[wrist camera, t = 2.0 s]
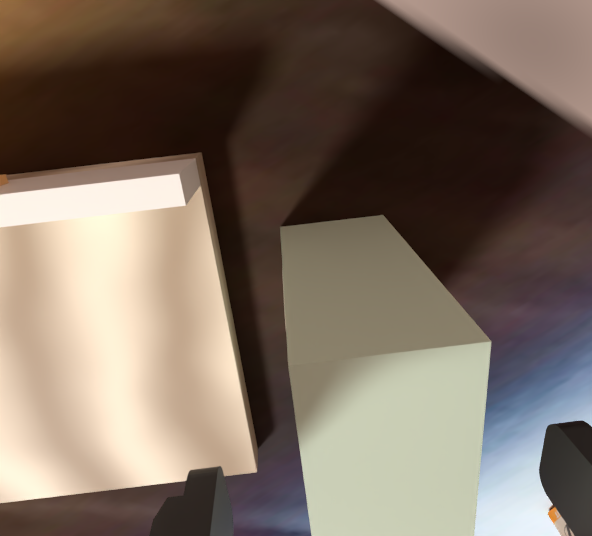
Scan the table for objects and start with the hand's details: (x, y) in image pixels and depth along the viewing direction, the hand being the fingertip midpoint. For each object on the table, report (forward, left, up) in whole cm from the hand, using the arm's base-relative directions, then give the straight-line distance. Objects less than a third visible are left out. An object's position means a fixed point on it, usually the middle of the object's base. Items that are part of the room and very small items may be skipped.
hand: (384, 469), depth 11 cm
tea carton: (0, 0, -10) cm, 10 cm away
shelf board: (+13, +1, -10) cm, 16 cm away
